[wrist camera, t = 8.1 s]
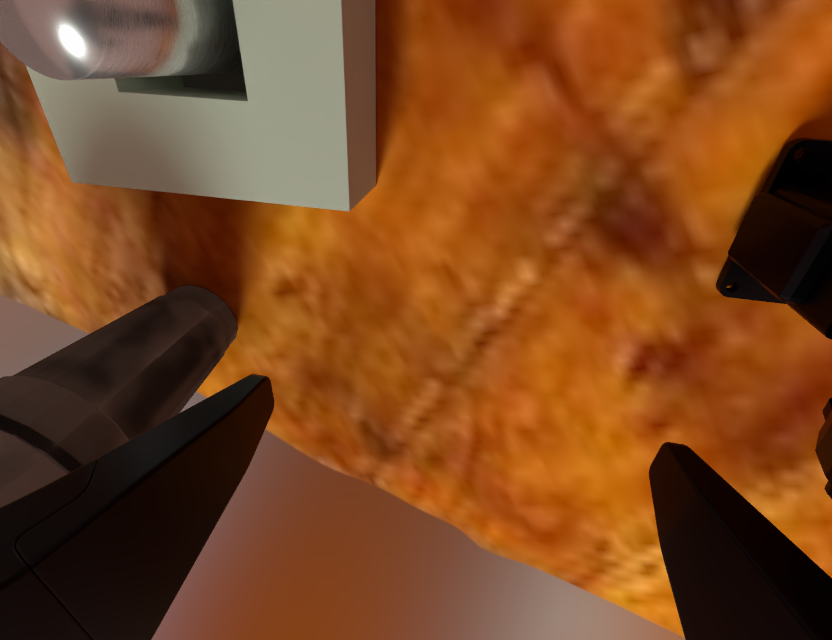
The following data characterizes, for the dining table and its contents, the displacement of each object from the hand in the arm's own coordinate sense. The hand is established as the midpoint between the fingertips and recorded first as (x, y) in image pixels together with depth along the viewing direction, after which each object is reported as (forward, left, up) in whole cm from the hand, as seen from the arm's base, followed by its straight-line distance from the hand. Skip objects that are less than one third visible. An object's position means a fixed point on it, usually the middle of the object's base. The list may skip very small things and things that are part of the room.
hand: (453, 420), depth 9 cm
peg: (+11, -8, -12) cm, 18 cm away
